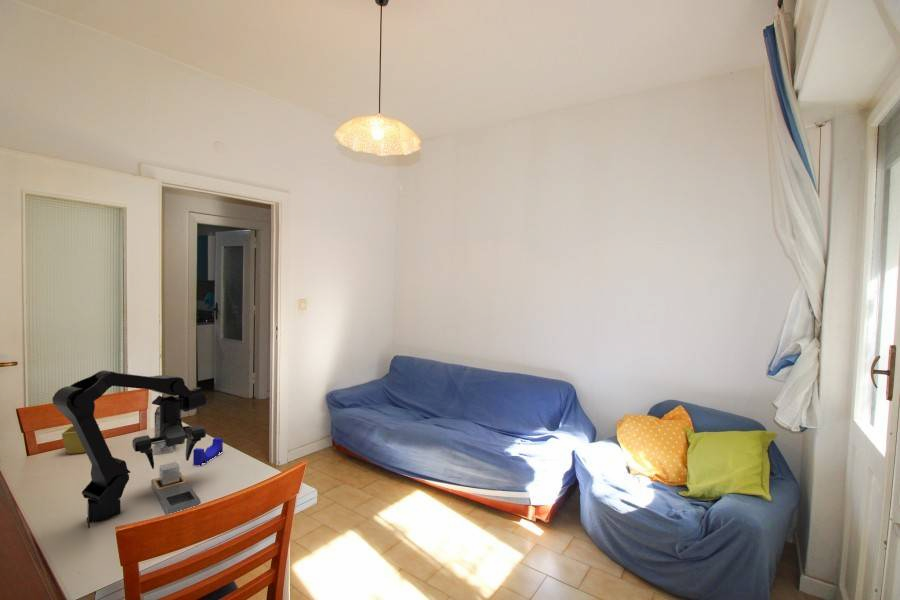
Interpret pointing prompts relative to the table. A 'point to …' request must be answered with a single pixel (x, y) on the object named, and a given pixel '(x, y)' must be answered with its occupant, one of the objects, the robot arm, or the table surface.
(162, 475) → the light grey block
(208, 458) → the blue notched block
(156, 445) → the coffee box
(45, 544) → the table surface
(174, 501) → the slotted holder
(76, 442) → the flower pot
